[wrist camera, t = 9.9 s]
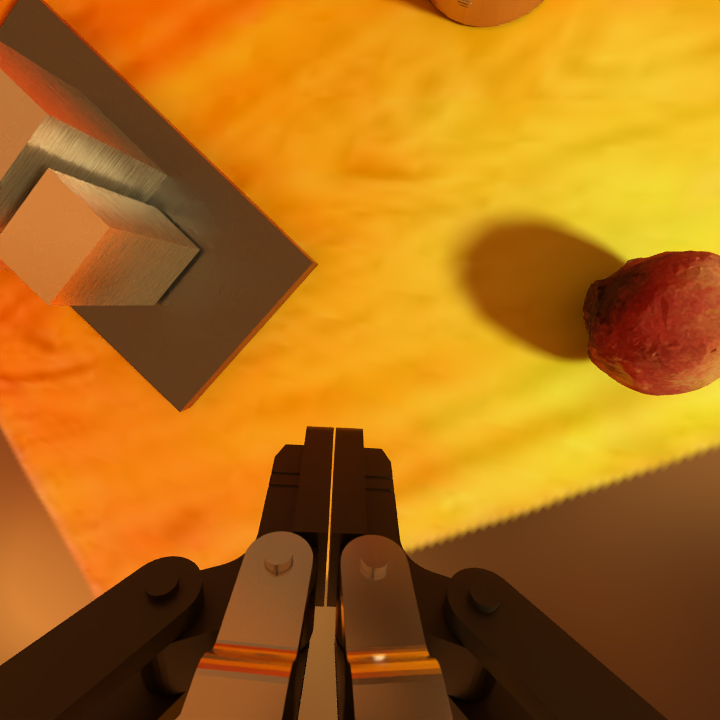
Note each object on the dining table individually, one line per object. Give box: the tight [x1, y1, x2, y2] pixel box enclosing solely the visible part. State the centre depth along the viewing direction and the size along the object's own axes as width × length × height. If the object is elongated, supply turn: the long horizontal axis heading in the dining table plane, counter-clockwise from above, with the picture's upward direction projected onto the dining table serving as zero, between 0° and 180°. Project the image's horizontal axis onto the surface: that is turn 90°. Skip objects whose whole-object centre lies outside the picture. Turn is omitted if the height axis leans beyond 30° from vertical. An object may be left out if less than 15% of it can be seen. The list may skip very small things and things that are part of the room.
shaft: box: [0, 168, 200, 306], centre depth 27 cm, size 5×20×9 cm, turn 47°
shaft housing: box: [0, 0, 318, 412], centre depth 27 cm, size 14×26×12 cm, turn 47°
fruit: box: [583, 251, 720, 396], centre depth 25 cm, size 8×8×8 cm
